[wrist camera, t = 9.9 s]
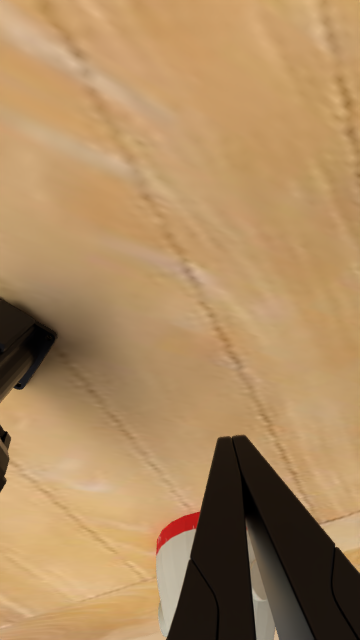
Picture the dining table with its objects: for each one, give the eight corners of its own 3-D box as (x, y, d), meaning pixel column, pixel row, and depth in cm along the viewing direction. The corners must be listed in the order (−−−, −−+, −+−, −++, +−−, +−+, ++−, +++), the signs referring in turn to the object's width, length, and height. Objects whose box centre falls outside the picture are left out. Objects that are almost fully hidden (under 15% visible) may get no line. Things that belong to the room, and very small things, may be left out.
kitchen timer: (227, 493, 30) (271, 745, 16) (288, 547, 34) (363, 779, 21) (133, 540, 33) (104, 780, 20) (200, 583, 38) (214, 803, 24)
